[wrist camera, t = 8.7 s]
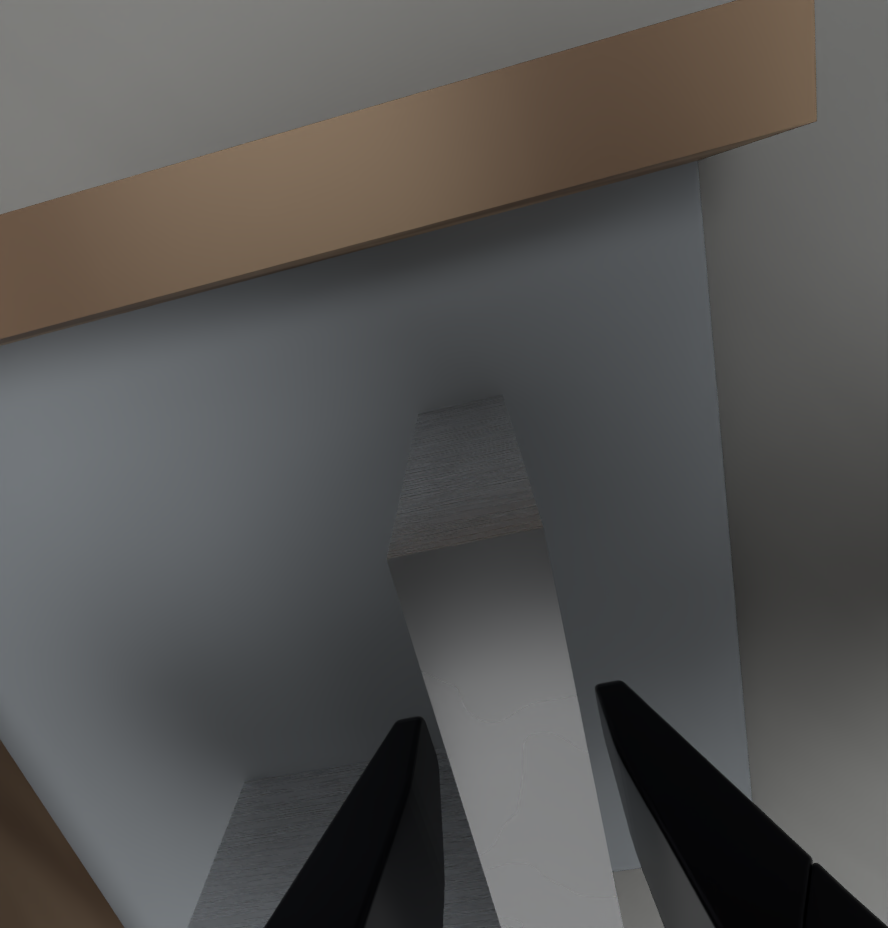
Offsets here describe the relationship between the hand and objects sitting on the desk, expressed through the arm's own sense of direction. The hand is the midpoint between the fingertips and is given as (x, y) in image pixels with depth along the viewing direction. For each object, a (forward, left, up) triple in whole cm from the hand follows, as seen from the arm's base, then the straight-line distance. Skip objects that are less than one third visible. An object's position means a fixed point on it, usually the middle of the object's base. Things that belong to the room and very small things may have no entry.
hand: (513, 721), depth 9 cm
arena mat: (+4, +1, -3) cm, 5 cm away
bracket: (+3, 0, -3) cm, 4 cm away
